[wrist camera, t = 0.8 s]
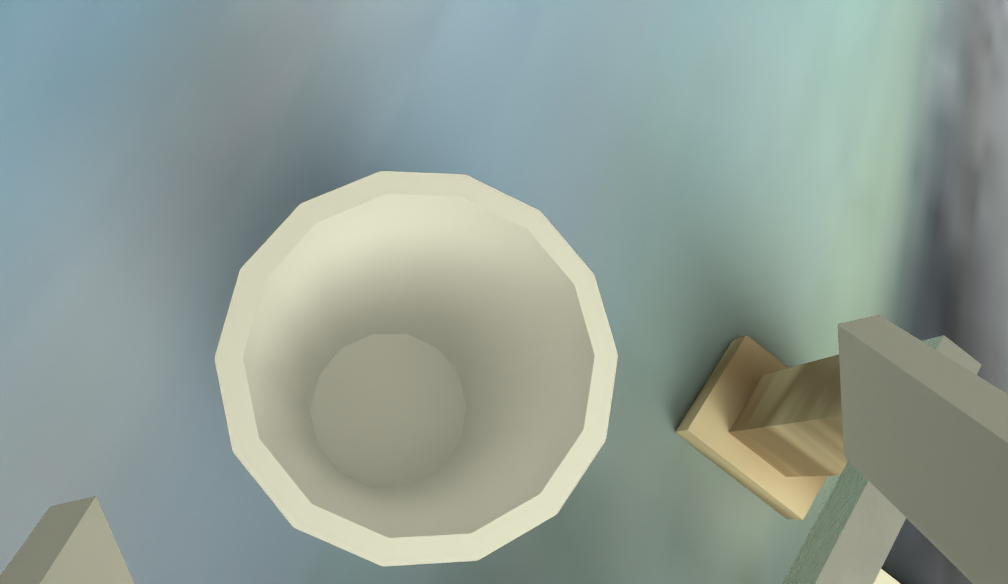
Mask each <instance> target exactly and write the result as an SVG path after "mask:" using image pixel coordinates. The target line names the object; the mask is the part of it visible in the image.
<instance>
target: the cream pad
mask: <svg viewBox="0 0 1008 584" xmlns="http://www.w3.org/2000/svg"><path fill="white" fill-rule="evenodd" d="M874 584H900V583H899V582H898V581H896V580H895V579H894V578H892V577H891V576H890V575H889V574H887V573H886V572H885V571H883V570H882V569H881V570H880V572H879V574H878V576H877V578H876V580H875V582H874Z"/></svg>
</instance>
